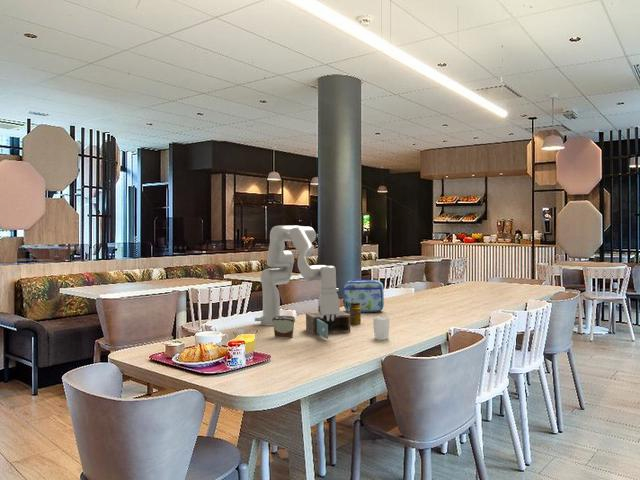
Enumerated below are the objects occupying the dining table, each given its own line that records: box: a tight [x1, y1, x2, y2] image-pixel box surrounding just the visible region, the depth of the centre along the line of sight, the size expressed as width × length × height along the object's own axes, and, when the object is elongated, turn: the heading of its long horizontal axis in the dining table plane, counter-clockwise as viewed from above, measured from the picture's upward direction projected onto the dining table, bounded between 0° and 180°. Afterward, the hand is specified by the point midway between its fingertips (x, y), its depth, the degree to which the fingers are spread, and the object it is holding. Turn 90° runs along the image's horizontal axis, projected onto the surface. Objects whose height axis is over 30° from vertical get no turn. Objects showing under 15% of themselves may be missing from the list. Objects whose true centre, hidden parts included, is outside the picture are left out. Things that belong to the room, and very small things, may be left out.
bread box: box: [305, 310, 351, 336], centre depth 274 cm, size 20×14×9 cm
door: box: [316, 319, 329, 340], centre depth 257 cm, size 16×2×7 cm, turn 18°
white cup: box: [372, 316, 390, 341], centre depth 254 cm, size 8×8×10 cm
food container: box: [272, 315, 296, 339], centre depth 262 cm, size 12×6×10 cm, turn 71°
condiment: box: [349, 302, 363, 327], centre depth 293 cm, size 7×8×12 cm
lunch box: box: [342, 278, 385, 313], centre depth 337 cm, size 26×11×21 cm, turn 77°
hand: (329, 328), depth 255 cm, fingers closed
